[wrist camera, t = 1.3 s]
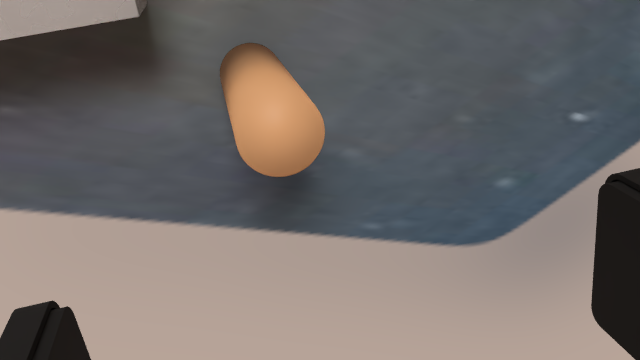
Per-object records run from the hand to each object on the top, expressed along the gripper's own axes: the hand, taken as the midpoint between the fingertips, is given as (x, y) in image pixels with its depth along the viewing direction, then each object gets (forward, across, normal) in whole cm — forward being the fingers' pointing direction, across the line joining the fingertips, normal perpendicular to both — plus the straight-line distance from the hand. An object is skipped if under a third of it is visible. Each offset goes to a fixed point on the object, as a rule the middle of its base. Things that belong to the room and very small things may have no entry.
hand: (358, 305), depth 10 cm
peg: (+20, 0, 0) cm, 20 cm away
